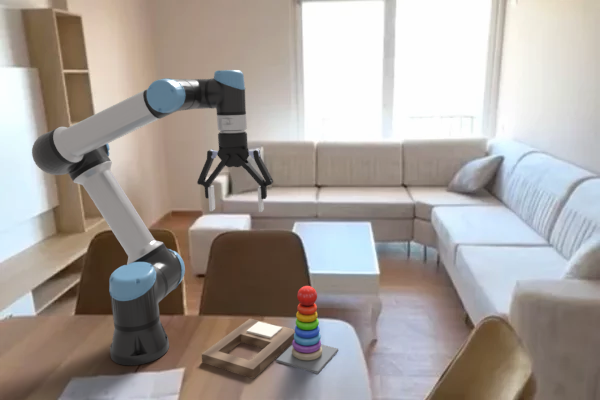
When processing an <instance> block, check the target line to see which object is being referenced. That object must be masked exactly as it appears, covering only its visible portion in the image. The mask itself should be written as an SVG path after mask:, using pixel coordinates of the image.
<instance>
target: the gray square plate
mask: <svg viewBox="0 0 600 400" xmlns="http://www.w3.org/2000/svg"><path fill="white" fill-rule="evenodd" d="M321 347H322V354H321V356H320V357H318V358H317V359H314V360H308V361H306V360H300V359H297V358H296V357H294V355H293V354H292V348H293V345H292V344H291V345H290V346H289V347H287V348H286V349H285V350H284V351H283V352H282V353H281V354H280V355H279V356H278V357H277V358H275V360H276V362H277V363H280V364H283V365H288V366H290V367H294V368H297V369H301V370H305V371H307V372H308V371H309V372H312V373H315V374H319V373H320V372H321V370H323V369H324V367H325V366H326V365H327V364H328V363H329V362H330V361H331V360H332V358H333V357H334V356H335V355H336V354H337V353H338V352H339V348H337V347H334V346H328V345H325V344H322V343H321Z"/></svg>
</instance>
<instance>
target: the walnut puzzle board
mask: <svg viewBox="0 0 600 400" xmlns="http://www.w3.org/2000/svg"><path fill="white" fill-rule="evenodd" d="M294 334H295V328H291V327H287V326H282V325H278V324H274V323H270V322H267V321H263V320H257V319H253V318H248V319H247V320H246V321H245V322H243V323H242V324H240V325H239V326H237V327H236V328H235V329H233V330H232V331H231V332H229V333H228V334H226V335H225V336H223V337H222V338H221V339H220V340H218V341H217V342H215V343H214V344H212V345H211V346H210V347H209V348H207V349H206V350H205V351H203V352H202V353H201V363H203V364H206V365H210V366H211V367H215V368H218V369H222V370H225V371H227V372H228V371H229V372H231V373H234V374H237V375H240V376H244V377H248V378H251V379H255V378H256V377H257V376H258V375H259V374H260V373H262V372H263V370H265V368H267V367H268V366H270V364H271V363H272V362H273V361H275V360H276V359H277V358H278V357H280V356H281V355H282V354H283V353H284V352H285V351H286V350H287V349H288V348H289V347H290V346H291V345H292V342H293V340H294ZM241 343H242V344H246V345H249V346H253V347H257V348H261V351H259V352H258V353H257V354H255V355H254V356H253V357H252V358H251V359H247V358H244V357H240V356H236V355H232V354H229V352H231V350H233V349H234V348H236V347H237V346H238V345H239V344H241Z"/></svg>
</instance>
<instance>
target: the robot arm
mask: <svg viewBox="0 0 600 400" xmlns="http://www.w3.org/2000/svg"><path fill="white" fill-rule="evenodd" d="M197 109H201V110H202V109H204V110H205V109H216V121H217V122H216V123H217V131H219V132H218V134H217V140H218V141H217V142H218V150H215V149H213V148H212V149H209V150H207V151H206V160H205V162H204V165H203V167H202V169H201V172H200V175H199V177H198V179H197V182H196V184H197V185H199V186H203V187H204V195H205V199H208V208H209V209H208V211H209V212H213V211H214V210H216V196H215V185H212V184H213V183H214V181H215V179H217V177H219V175H220V173H221V172H222V171H223V169H224V168H225V167H227V168H232V167H234V168H240V167H242V168H243V169H244V170H245V171H246V172H247V173H248V174H249V175H250V177H252V179H254V181H255V182H256V183H257V184H258V187H257V205H258V206H257V207H258V213H262V212H263V211H264V210H265V205H264V200H266V199H267V196H268V195H267V194H268V192H267V191H268V190H267V187H268V186H271V185H272V184H273V183H274V179H273V177H272V176H271V174H270V172H269V170H268V169H267V167H266V164H265V162H264V160H263V159H262V157H261V151H260V149H259V148H257V149H256V148H255V150H249V147H248V133H247V132H246V130H247V129H248V127H247V125H248V124H247V111H246V110H247V109H246V87H245V77H244V73H243V72H242V71H241V70H240V69H222V70H215V71H214V75H213V78H208V79H206V78H195V79H193V78H191V79H187V78H161V79H157V80H154V81H152V83H150V85H149V86H148V88H146V89H144V90H142V91H140V92H138V93H136V94H133V95H132V96H129V97H128V98H126V99H124V100H121V101H119V102H118V103H116V104H113V105H111V106H109V107H107V108H105V109H103V110H101V111H99V112H97V113H94V114H93V115H91V116H88V117H86V118H85V119H82V120H81V121H79V122H77V123H74V124H73V125H70V126H69V127H66V126H59V127H56V128H55V129H52V130H50V131H48V132H46V133H43V134H41V135H39V136H38V137H37V138H36V140H35V141H34V142H33V145H32V149H31V156H32V159H33V161H34V164H35V165H36V166H37V167H38V168H39V169H40V170H41V171H43V172H44V173H47V174H49V175H53V176H63V175H67V174H68V176H69V177H70V178H71V180H72V181H73V184H79V185H81V186H82V187H83V188H84V190H85V192H87V195H88V196H89V198H90V199H91V200H92V202H93V204H94V206H95V207H96V208H97V211H99V214H101V216H102V218H103V219H104V221H105V222H106V224H107V225H108V226H109V228H110V230H111V231H112V233H113V234H114V237H115V238H116V239H117V241H118V242H119V243H120V245H121V247H122V248H123V250H124V252H125V253H126V255H127V257H128V258H127V263H126V264H124V265H121V266H119V267H118V268H116V269H115V270H113V272H112V273H111V275H109V280H108V282H109V287H108V289H109V290H108V291H109V295H110V301H111V303H110V304H111V311H112V318H113V325H114V329H113V336H112V341H111V344H110V347H109V353H110V359H111V360H112V361H113V362H114V363H116V364H118V365H122V366H139V365H144V364H149V363H151V362H153V361H156V360H158V359H159V358H161V357H162V356H164V355H165V354H166V353H167V352H168V350H169V348H170V342H169V337H168V335H167V332H166V330H165V328H164V325H163V324H162V322H161V319H160V307H159V303H160V302H161V301H162V300H163V299H164V298H165V297H167V296H168V295H169V293H171V292H172V291H174V290H175V289H177V288H178V286H179V284H181V282H182V280H183V279H184V277H185V274H186V267H185V261H184V260H183V258H182V257H181V255H180V254H179V252H177V251H175V250H172V249H171V248H167V247H166V245H165V243H164V242H163V241H159V240H156V238H154V236H153V235H152V233H151V232H150V230H149V228H148V227H147V225H146V224H145V222H144V221H143V219H142V217H141V216H140V214H139V213H138V212H137V210H136V208H135V206H134V205H133V203H132V201H131V200H130V198H129V197H128V196H127V194H126V193H125V190H124V189H123V188H122V186H121V184H120V183H119V181H118V179H117V178H116V177H115V175H114V173H113V172H112V171H111V168H112V164H113V163H112V161H111V159H110V157H109V156H110V144H109V143H112V142H114V141H116V140H117V139H120V138H122V137H124V136H127V135H129V134H130V133H133V132H135V131H137V130H139V129H142V128H143V127H145V126H148V125H149V124H151V123H154V122H156V121H159V120H160V119H162V118H166V117H167V116H169V115H172V114H174V113H176V112H181V111H187V110H197ZM217 157H218V158H219V159H220V162H219V163H218V164H217V166H216V168H215V169H213V171H212V173H211V174H210V175H209V176H208V174H209V172H210V169H211V167H212V165H213V162H214V159H215V158H217ZM249 157H251V158H252V159H253V160H254V162H255V164H256V165H257V167H258V169H259V172H260V173H259V172H258V171H257V170H256V169H255V167H253V166H252V164H251V162H250V161H249V160H248V159H249ZM260 174H261V175H262V176H261V175H260ZM207 176H208V178H207ZM206 179H207V180H206Z"/></svg>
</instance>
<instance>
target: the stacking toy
mask: <svg viewBox="0 0 600 400" xmlns="http://www.w3.org/2000/svg"><path fill="white" fill-rule="evenodd" d="M296 296H297V300H298V305H297V307H296V308H297V312H296V313H295V317H296V319H295V327H294V329H295V334H294V340H293V342H292V344H291V345H293V348H292V354H293V355H294V357H296V358H297V359H300V360H306V361H308V360H314V359H317V358H318V357H320V356H321V354H322V347H321V344H322V341H321V338H322V335H321V333H320V330H321V329H320V326H319V324H320V321H319V319H318V312H317V309H318V306H317V303H316V301H317V298H318V292H317V291H316V289H315V288H314V287H313V286H311V285H304V286H302V287H301V288H299V289H298V291H297V295H296Z"/></svg>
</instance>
